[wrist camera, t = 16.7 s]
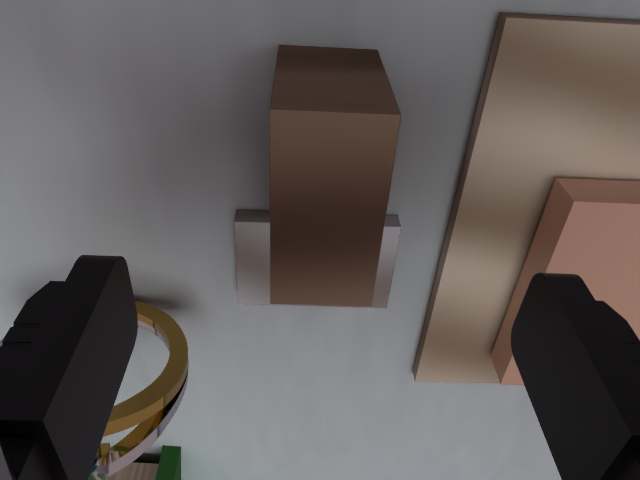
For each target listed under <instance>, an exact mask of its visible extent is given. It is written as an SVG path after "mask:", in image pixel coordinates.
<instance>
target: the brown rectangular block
mask: <svg viewBox="0 0 640 480" xmlns="http://www.w3.org/2000/svg"><path fill="white" fill-rule="evenodd" d="M400 120H401V113H400V110H399V108H398V105H397V102H396V99H395V97H394V94H393V91H392V88H391V86H390V83H389V80H388V78H387V75H386V72H385V69H384V67H383V64H382V61H381V58H380V56H379V53H378V50H371V49H351V48H331V47H311V46H291V45H279V47H278V55H277V62H276V69H275V76H274V84H273V91H272V98H271V106H270V211H260V210H236V215H235V220H234V227H235V248H236V268H237V288H238V304H254V305H294V306H335V307H375V308H387V304H388V298H389V292H390V287H391V281H392V276H393V270H394V264H395V259H396V253H397V247H398V242H399V236H400V231H401V225H400V221H399V217H398V215H386V211H387V204H388V198H389V191H390V185H391V178H392V172H393V165H394V159H395V152H396V146H397V139H398V133H399V126H400Z"/></svg>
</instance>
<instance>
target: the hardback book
mask: <svg viewBox="0 0 640 480" xmlns="http://www.w3.org/2000/svg"><path fill="white" fill-rule="evenodd" d="M106 480H181V447H176V446H163V449H162V453H161V457H160V461H159V464H151V463H135V462H132V463H130V464H129V465H127V466H126V467H124V468H123V469H121V470H119V471H118V472H116V473H114V474H112V475H111V476H109V477H107V479H106Z"/></svg>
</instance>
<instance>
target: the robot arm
mask: <svg viewBox="0 0 640 480" xmlns="http://www.w3.org/2000/svg"><path fill="white" fill-rule="evenodd" d="M137 328H138V317H137V310H136V305H135V300H134V295H133V291H132V286H131V281H130V276H129V271H128V266H127V263H126V260H125V259H124V257H122V256H95V255H82V256H80V257H79V258H78V259H77V261H76V262H75V264H74V266H73V268H72V270H71V272H70V273H69V275H68V277H67V279H66V281H50V282H49V283H48V284H46V285H45V286H44V287H43V288H41V289H40V290H39V291H38V292H37V293H35V294H34V295H33V296H32V297H30V298H29V299H28V300H27V301H26V303H25V305H24V306H23V308H22V310H21V311H20V313H19V314H18V316H17V318H16V319H15V321H14V326H13V327H11V328H10V329H9V331H8V332H7V334H6V336H5V337H4V339H3V341H2V346H0V480H88V478H89V475H90V472H91V469H92V466H93V464H94V461H95V458H96V455H97V452H98V449H99V446H100V443H101V440H102V437H103V435H104V432H105V429H106V426H107V423H108V420H109V417H110V414H111V411H112V409H113V406H114V403H115V400H116V397H117V394H118V391H119V388H120V385H121V382H122V380H123V377H124V374H125V371H126V368H127V365H128V362H129V359H130V356H131V354H132V351H133V348H134V345H135V341H136V336H137ZM511 349H512V354H513V357H514V360H515V362H516V365H517V367H518V370H519V372H520V375H521V377H522V380H523V383H524V385H525V388H526V390H527V393H528V395H529V398H530V400H531V403H532V405H533V408H534V410H535V413H536V415H537V418H538V421H539V423H540V426H541V428H542V431H543V433H544V436H545V438H546V441H547V443H548V446H549V448H550V451H551V453H552V456H553V459H554V461H555V464H556V466H557V469H558V471H559V474H560V476H561V479H562V480H640V340H639V338H638V337H637V335H636V334H635V332H634V331H633V329H632V328H631V326H630V325H629V323H628V322H627V320H626V319H624V318H623V317H622V316H621V315H620V314H618V313H617V312H616V311H615V310H614V309H613V308H611V307H610V306H609V305H608V304H607V303H606V302H604V301H596V300H595V299H594V297H593V295H592V294H591V292H590V290H589V289H588V287H587V286H586V284H585V282H584V281H583V279H582V278H581V277H580V276H579V275H577V274H561V273H537V274H535V275H534V276H533V277H532V279H531V281H530V283H529V286H528V288H527V291H526V293H525V296H524V298H523V301H522V303H521V306H520V308H519V311H518V313H517V316H516V318H515V321H514V323H513V326H512V330H511Z"/></svg>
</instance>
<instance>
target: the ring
mask: <svg viewBox="0 0 640 480" xmlns="http://www.w3.org/2000/svg"><path fill="white" fill-rule="evenodd" d="M135 305H136V310H137V317H138V326H140V327H143V328H145V329H147V330H149V331H151V332H152V333H154V334H155V335H156V336H158V337H159V338H160V339H161V340H162V341H163V343H164V344H165V345H166V347H167V348H168V350H169V352H170V355H169V360H168V363H167V365H166V367H165V369H164V370H163V372H162V373H161V374H160V376H159V377H158V378H157V379H156V380H155V381H154V382H153V383H152V384H150V385H149V386H148V387H147V388H145V389H144V390H142V391H141V392H139V393H138V394H136V395H134V396H133V397H131V398H129V399H127V400H125V401H123V402H121V403H119V404H117V405H115V406H113V409H112V411H111V414H110V417H109V420H108V423H107V426H106V429H105V432H104V435H103V436H107V435H111V434H114V433H117V432H120V431H123V430H125V429H128V428H130V427H133V426H135V425H137V424H139V423H140V424H139V425H138V426H137V427H136V428H135V429H134V430H133V431H132V432H131V433H129V434H128V435H127V436H126V437H125V438H124V439H122V440H121V441H120V442H118V443H117V444H115V445H114V446H113V447H111V448H110V443H103V444H100V446H99V449H98V452H97V455H96V458H95V461H94V464H93V466H92V469H91V472H90V475H89V478H88V480H106V479H107V477H109V476H111V475H112V474H114V473H116V472H118V471H119V470H121V469H123V468H124V467H126V466H127V465H129V464H130V463H132V462H133V461H134V460H136V459H137V458H138V457H139V456H140V455H142V454H143V453H144V452H145V451H146V450H147V449H148V448H149V447H150V446H151V445H152V444H153V443H154V442H155V441H156V440H157V438H158V437H159V436H160V435H161V433H162V432H163V431H164V429H165V428H166V427H167V425H168V424H169V422H170V421H171V419H172V417H173V416H174V414H175V412H176V411H177V409H178V407H179V405H180V403H181V401H182V398H183V396H184V393H185V390H186V386H187V381H188V367H189V360H188V346H187V341H186V338H185V335H184V333H183V331H182V329H181V328H180V326H179V325H178V324H177V323H176V322H175V320H174V319H172V318H171V317H170V316H169V315H168V314H166V313H165V312H163V311H161V310H160V309H158V308H156V307H153V306H151V305H148V304H146V303H142V302H139V301H135ZM3 339H4V338H3ZM3 339H2V340H1V341H0V346H2V341H3Z"/></svg>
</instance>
